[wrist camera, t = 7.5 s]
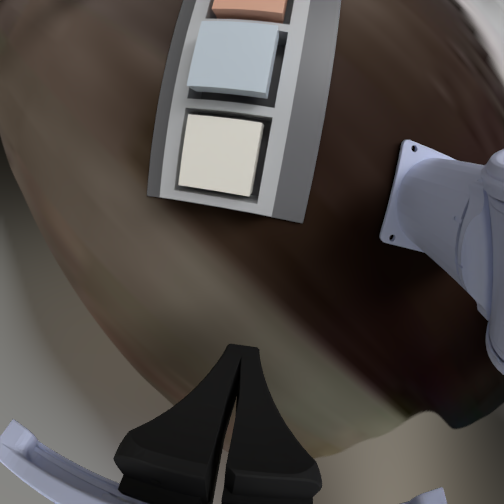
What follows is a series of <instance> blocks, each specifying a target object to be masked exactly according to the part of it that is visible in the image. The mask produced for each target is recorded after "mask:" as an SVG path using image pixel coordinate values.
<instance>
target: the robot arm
mask: <svg viewBox="0 0 504 504" xmlns="http://www.w3.org/2000/svg"><path fill="white" fill-rule="evenodd" d="M412 146H414V147H415V151H414V152H413V151H412V149H411V147H412ZM391 235H394V236H393V239H391V240H389V237H390V236H391ZM379 237H380V239H381V240H382V241H383V242H384V243H388V244H392V245H396V246H400V247H404V248H408V249H412V250H416V251H420V252H424V253H426V254H427V255H428V256H429V257H430V258H431V259H433V260H434V261H435V262H436V263H437V264H438V265H439V266H440V267H441V268H443V269H444V270H445V271H446V272H447V273H448V274H449V275H450V276H451V277H452V278H453V279H454V280H455V281H457V282H458V283H459V284H460V285H461V286H462V287H463V288H464V289H465V290H466V291H467V292H468V293H469V294H470V295H471V296H472V297H473V298H474V299H475V300H476V302H477V310H478V311H479V312H480V313H481V314H482V315H483V316H484V317H485V318H486V320H487V321H488V325H487V331H486V340H485V341H486V349H487V352H488V355H489V357H490V359H491V361H492V363H493V364H494V366H495V367H496V368H497V369H498V370H499V371H500V372H501V373H502V374H503V375H504V149H502V150H500V151H498V152H496V153H494V154H493V155H492V156H491V158H490V159H489V161H488V163H487V164H486V165H485V166H484V165H479V164H474V163H468V162H462V161H457V160H455V159H453V158H451V157H449V156H446V155H444V154H442V153H440V152H438V151H435V150H433V149H431V148H428V147H426V146H423V145H421V144H418V143H416V142H413V141H411V140H404V141H403V142H402V144H401V148H400V153H399V158H398V163H397V168H396V173H395V177H394V181H393V186H392V190H391V194H390V198H389V202H388V206H387V210H386V213H385V217H384V221H383V224H382V228H381V231H380V235H379ZM236 396H237V402H236V418H235V423H234V429H233V434H232V439H231V444H230V449H229V454H228V459H227V464H226V472H225V483H224V490H223V495H222V504H313V496H314V495H316V493H318V491H320V490H321V488H322V479H321V475H320V471H319V468H318V465H317V463H316V461H315V460H314V459H313V458H312V457H311V456H310V455H309V454H308V453H307V451H306V450H305V449H304V448H303V447H302V446H301V444H300V443H299V442H298V441H297V439H296V438H295V437H294V435H293V434H292V432H291V431H290V429H289V428H288V427H287V425H286V424H285V422H284V420H283V418H282V417H281V415H280V413H279V411H278V409H277V408H276V405H275V403H274V401H273V399H272V397H271V394H270V392H269V389H268V387H267V384H266V381H265V377H264V374H263V371H262V367H261V362H260V355H259V349H258V348H257V347H250V346H243V345H236V344H229V345H227V347H226V349H225V351H224V353H223V354H222V356H221V358H220V359H219V360H218V362H217V363H216V365H215V366H214V367H213V368H212V370H211V371H210V372H209V374H208V375H207V376H206V377H205V378H204V379H203V380H202V381H201V382H200V383H199V385H198V386H197V387H196V388H195V389H194V390H193V391H191V392H190V393H189V394H188V395H187V396H186V397H185V398H184V399H182V400H181V401H180V402H178V403H177V404H176V405H175V406H173V407H172V408H171V409H169V410H168V411H166V412H165V413H163V414H161V415H160V416H158V417H156V418H155V419H153V420H151V421H149V422H147V423H145V424H143V425H141V426H139V427H137V428H135V429H133V430H131V431H129V432H128V433H127V435H126V436H125V437H124V439H123V440H122V442H121V443H120V445H119V447H118V449H117V452H116V454H115V456H114V461H115V463H116V465H117V466H118V468H119V469H120V470H121V472H122V473H123V474H124V475H123V478H122V480H121V483H120V484H119V483H117V482H114V481H112V480H110V479H107V478H105V477H103V476H101V475H99V474H96V473H94V472H92V471H90V470H88V469H86V468H84V467H82V466H80V465H78V464H76V463H74V462H73V461H71V460H69V459H67V458H65V457H64V456H62V455H60V454H58V453H57V452H55V451H53V450H52V449H50V448H48V447H47V446H45V445H44V444H42V443H41V442H39V441H38V439H37V438H36V437H35V435H34V434H33V433H32V432H30V431H29V430H28V429H27V428H25V427H24V426H23V425H21V424H20V423H19V422H17V421H16V420H14V419H12V421H11V422H10V424H9V425H8V426H7V428H6V429H5V430H4V432H3V433H2V435H1V436H0V462H1V463H3V464H4V465H5V466H6V467H7V468H8V469H9V470H10V471H12V472H13V473H14V474H15V475H16V476H17V477H19V478H20V479H21V480H23V481H24V482H25V483H26V484H28V485H29V486H31V487H32V488H33V489H35V490H36V491H37V492H39V493H40V494H42V495H43V496H45V497H46V498H48V499H49V500H51V501H52V502H54V503H55V504H213V498H214V492H215V487H216V481H217V476H218V470H219V464H220V459H221V454H222V448H223V443H224V438H225V434H226V431H227V427H228V424H229V420H230V417H231V414H232V410H233V407H234V403H235V400H236ZM401 504H447V501H446V497H445V494H444V490H443V488H442V487H440V488H437V489H434V490H431V491H428V492H425V493H423V494H420V495H418V496H416V497H414V498H413V499H411V500H410V501H408V502H404V503H401Z"/></svg>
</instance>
